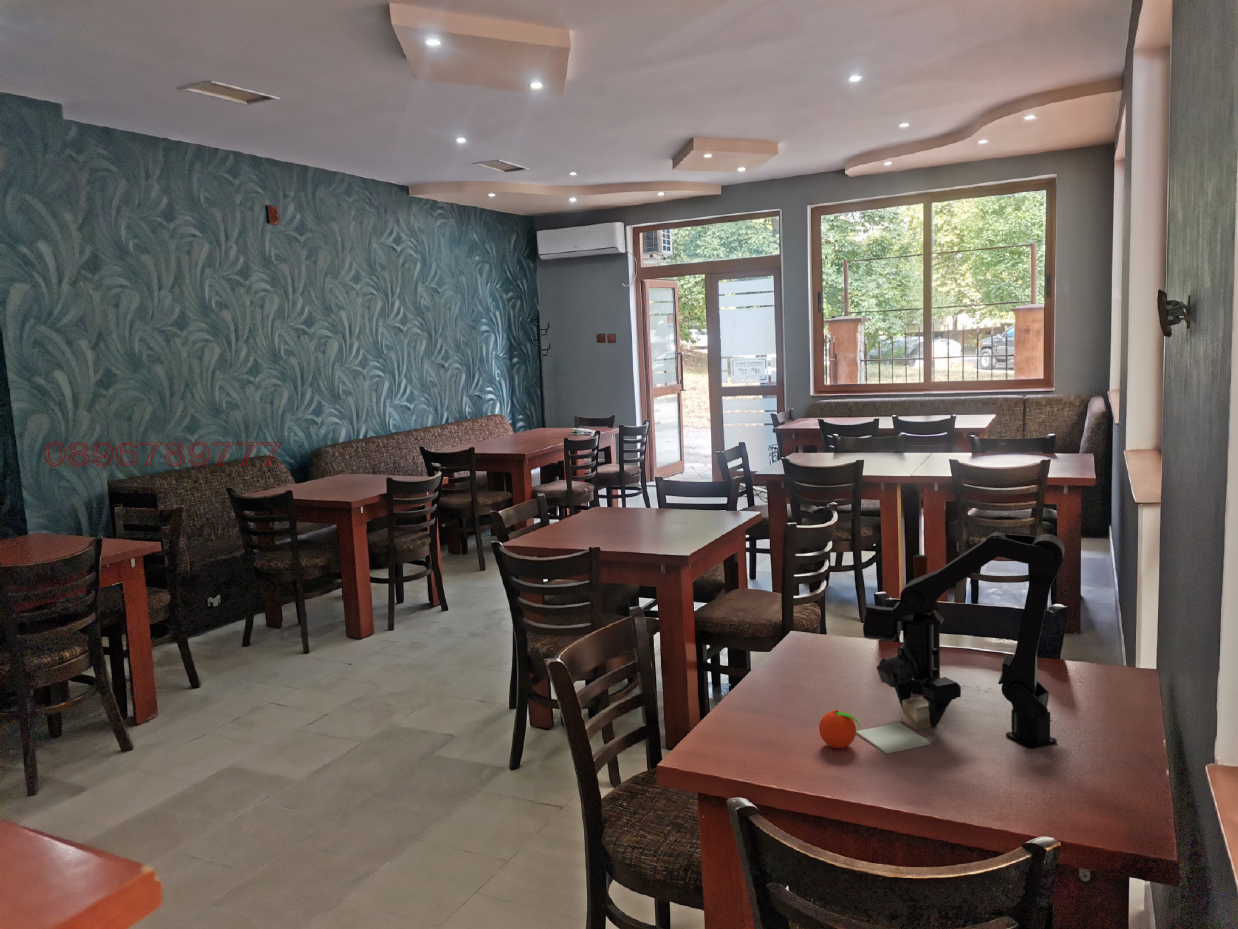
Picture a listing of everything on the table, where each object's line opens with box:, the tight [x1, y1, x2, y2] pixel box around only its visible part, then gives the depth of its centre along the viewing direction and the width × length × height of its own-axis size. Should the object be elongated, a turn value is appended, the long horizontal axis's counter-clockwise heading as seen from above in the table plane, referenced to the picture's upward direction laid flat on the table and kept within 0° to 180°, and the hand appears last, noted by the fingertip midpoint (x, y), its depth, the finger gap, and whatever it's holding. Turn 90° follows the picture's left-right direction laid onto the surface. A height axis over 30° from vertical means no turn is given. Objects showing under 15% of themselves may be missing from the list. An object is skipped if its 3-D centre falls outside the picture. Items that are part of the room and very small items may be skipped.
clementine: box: [818, 709, 861, 749], centre depth 168 cm, size 8×7×7 cm
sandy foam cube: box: [901, 696, 931, 730], centre depth 177 cm, size 4×4×4 cm
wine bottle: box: [908, 554, 941, 696], centre depth 193 cm, size 8×8×30 cm
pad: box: [856, 722, 932, 754], centre depth 170 cm, size 10×10×1 cm
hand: (919, 718), depth 177 cm, fingers open, 9 cm apart
